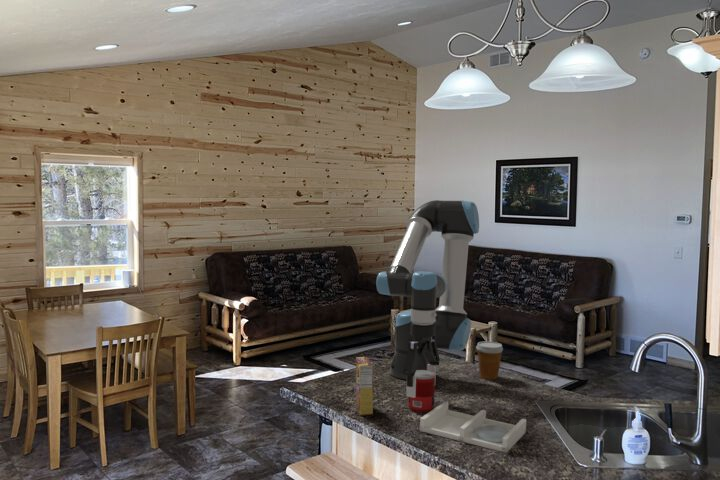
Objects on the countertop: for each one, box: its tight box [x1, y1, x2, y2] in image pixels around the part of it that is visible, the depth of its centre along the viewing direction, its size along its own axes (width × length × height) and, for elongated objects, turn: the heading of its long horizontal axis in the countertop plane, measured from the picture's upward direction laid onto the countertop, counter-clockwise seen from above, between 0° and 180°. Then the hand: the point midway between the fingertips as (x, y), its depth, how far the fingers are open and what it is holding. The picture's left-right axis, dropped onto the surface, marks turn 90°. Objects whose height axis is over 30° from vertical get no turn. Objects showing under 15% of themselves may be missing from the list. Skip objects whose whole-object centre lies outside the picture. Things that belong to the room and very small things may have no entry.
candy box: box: [355, 356, 374, 416], centre depth 185 cm, size 9×4×15 cm, turn 8°
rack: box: [419, 401, 527, 453], centre depth 168 cm, size 16×25×4 cm, turn 57°
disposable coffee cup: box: [475, 340, 504, 380], centre depth 219 cm, size 10×10×12 cm
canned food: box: [407, 370, 436, 413], centre depth 187 cm, size 8×8×11 cm
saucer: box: [476, 425, 509, 443], centre depth 165 cm, size 9×9×1 cm
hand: (421, 390), depth 187 cm, fingers open, 13 cm apart
